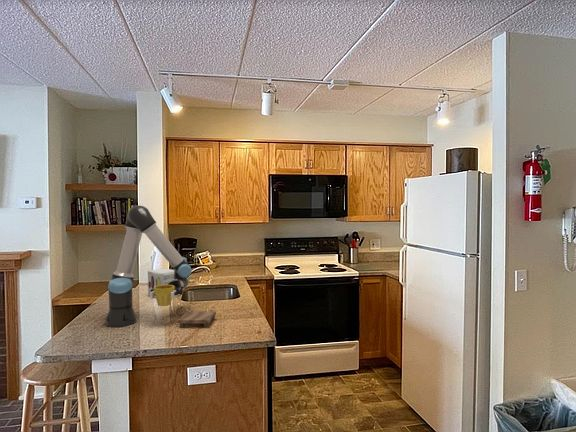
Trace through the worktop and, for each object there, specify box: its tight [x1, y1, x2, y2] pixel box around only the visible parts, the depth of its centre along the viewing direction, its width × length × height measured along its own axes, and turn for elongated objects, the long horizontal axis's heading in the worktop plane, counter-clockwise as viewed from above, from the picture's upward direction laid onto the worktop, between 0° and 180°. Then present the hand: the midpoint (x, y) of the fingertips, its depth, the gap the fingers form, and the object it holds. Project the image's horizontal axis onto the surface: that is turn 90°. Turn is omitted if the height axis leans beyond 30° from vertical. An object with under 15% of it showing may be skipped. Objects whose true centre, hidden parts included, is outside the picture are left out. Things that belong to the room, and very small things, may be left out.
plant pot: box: [154, 285, 174, 307], centre depth 204 cm, size 10×10×10 cm
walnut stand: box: [177, 310, 217, 328], centre depth 204 cm, size 16×16×4 cm
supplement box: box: [147, 267, 180, 299], centre depth 266 cm, size 17×13×18 cm
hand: (161, 295), depth 200 cm, fingers closed on plant pot, 10 cm apart
